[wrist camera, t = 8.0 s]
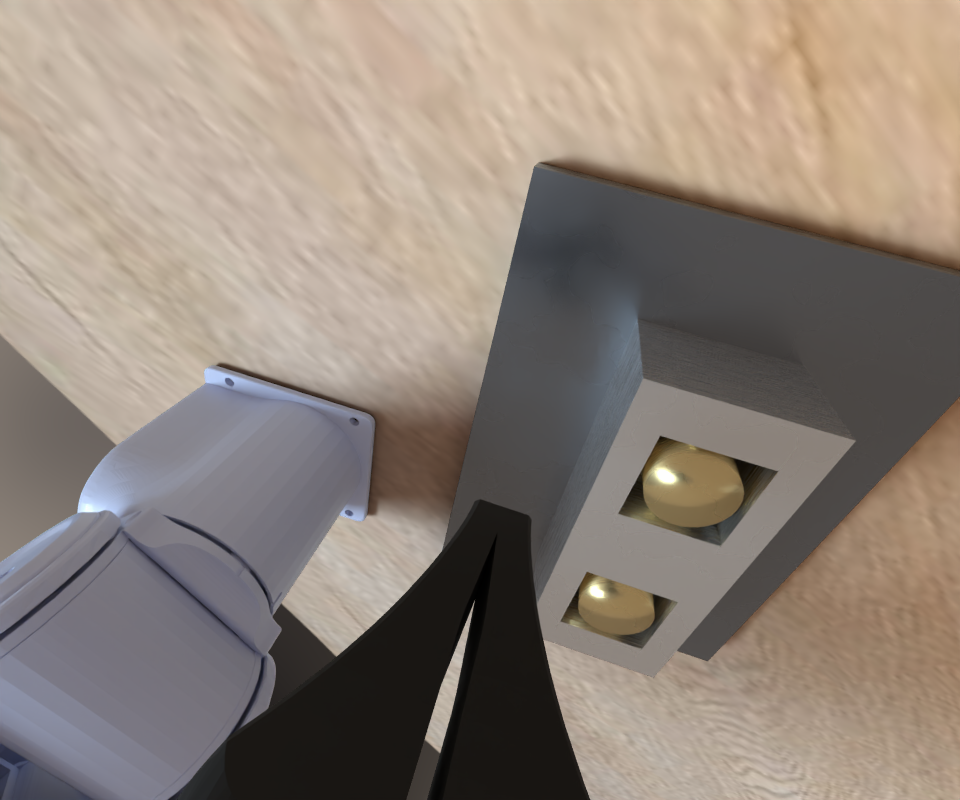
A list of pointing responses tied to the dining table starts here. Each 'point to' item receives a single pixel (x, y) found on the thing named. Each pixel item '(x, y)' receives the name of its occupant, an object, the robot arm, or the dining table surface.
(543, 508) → the plate
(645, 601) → the pin
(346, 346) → the dining table surface
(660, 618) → the housing
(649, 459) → the pin
